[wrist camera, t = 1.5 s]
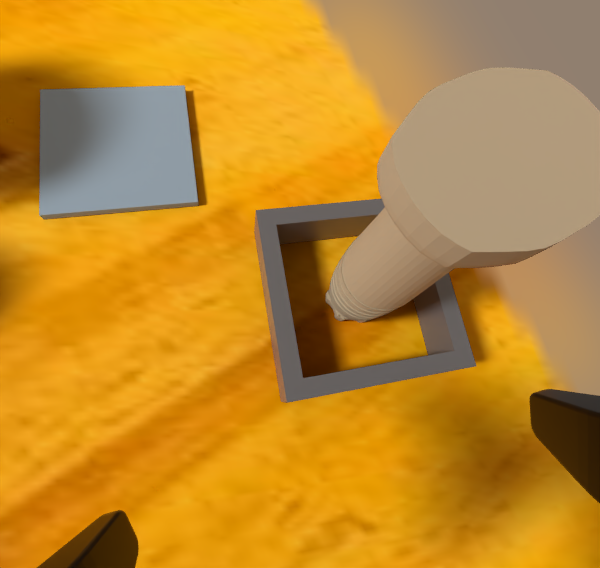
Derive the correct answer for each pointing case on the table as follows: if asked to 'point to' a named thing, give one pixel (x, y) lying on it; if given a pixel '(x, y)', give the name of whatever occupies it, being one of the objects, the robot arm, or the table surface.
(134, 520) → the table surface
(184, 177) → the mat
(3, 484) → the table surface
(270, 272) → the grey square frame
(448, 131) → the handle
